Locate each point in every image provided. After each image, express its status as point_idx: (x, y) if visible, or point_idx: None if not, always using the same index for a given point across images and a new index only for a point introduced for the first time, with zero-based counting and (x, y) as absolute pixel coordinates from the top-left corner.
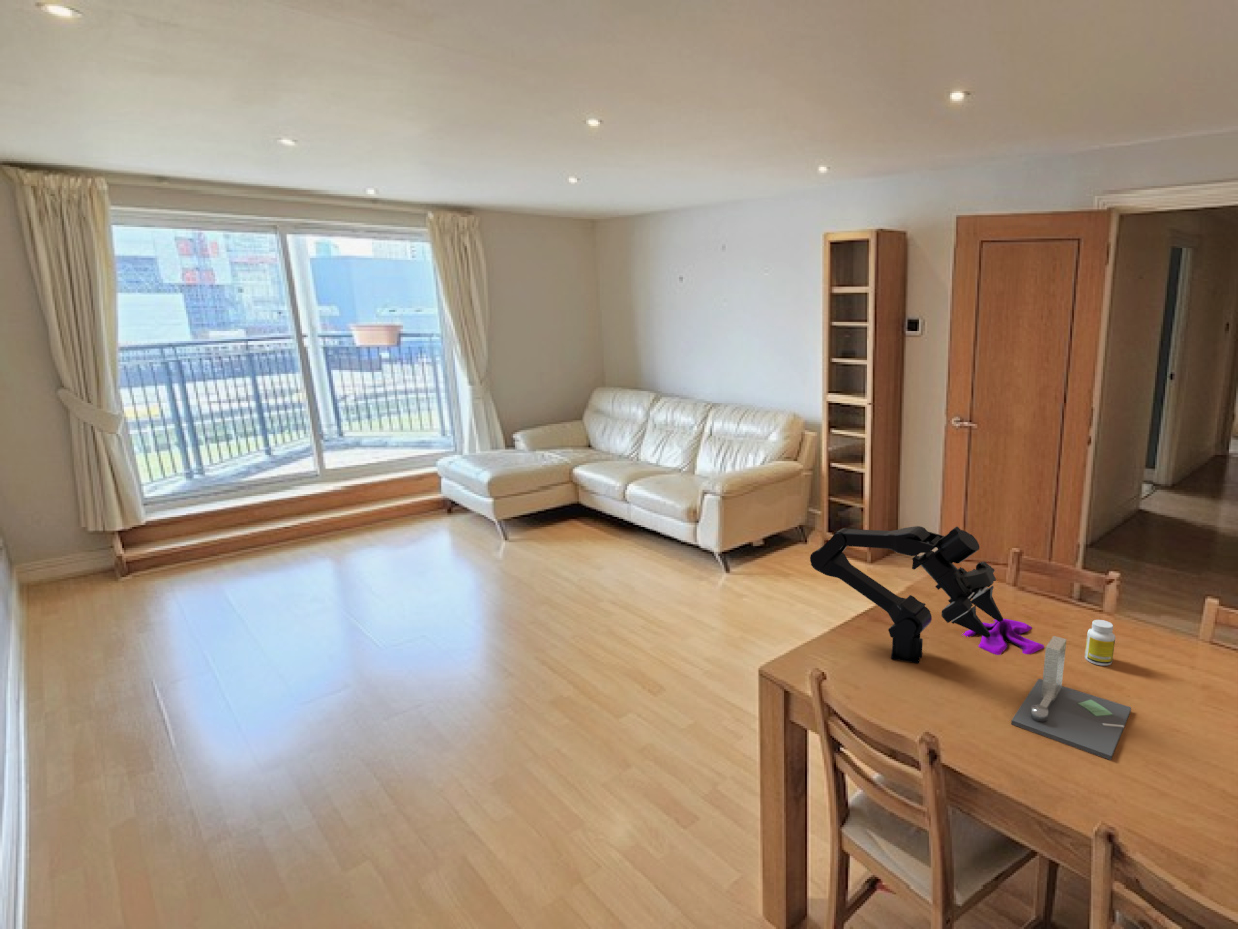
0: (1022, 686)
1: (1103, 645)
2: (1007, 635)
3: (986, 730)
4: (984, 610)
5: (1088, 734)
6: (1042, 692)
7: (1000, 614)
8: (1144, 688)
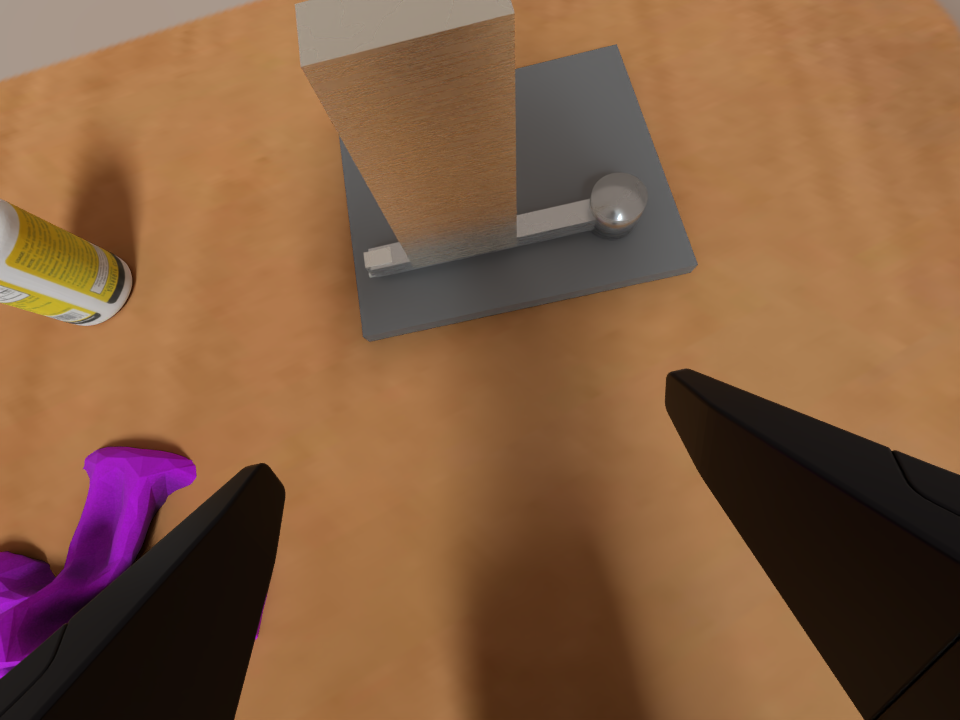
0: (433, 363)
1: (40, 226)
2: (108, 580)
3: (797, 302)
4: (222, 713)
5: (567, 111)
6: (516, 231)
7: (213, 503)
8: (193, 153)
